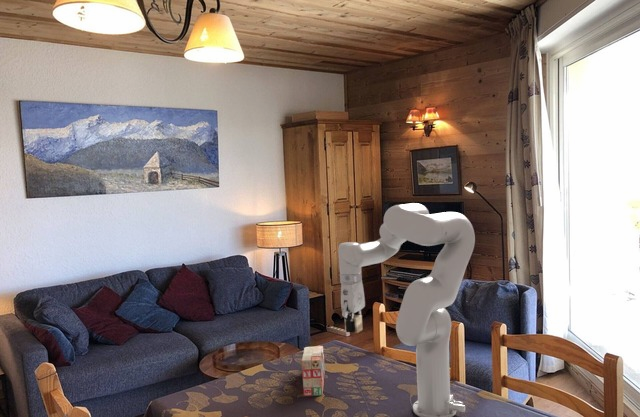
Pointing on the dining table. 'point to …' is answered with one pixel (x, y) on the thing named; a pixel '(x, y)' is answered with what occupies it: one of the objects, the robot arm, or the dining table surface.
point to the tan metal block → (356, 323)
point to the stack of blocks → (313, 371)
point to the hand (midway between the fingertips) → (354, 329)
